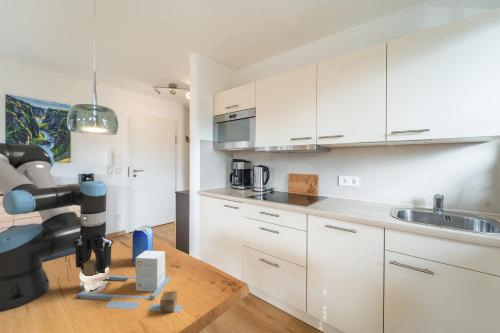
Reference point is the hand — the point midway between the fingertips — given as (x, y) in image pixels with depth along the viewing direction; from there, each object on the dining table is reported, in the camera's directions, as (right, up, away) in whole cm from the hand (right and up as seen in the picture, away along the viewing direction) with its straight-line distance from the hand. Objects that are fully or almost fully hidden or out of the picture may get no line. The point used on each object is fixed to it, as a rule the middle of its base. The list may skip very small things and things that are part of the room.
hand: (93, 285), depth 77 cm
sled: (+13, -1, -1) cm, 13 cm away
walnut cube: (+32, 0, -11) cm, 34 cm away
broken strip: (+24, -1, -11) cm, 27 cm away
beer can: (+8, 0, +20) cm, 21 cm away
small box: (+21, -1, 0) cm, 21 cm away
